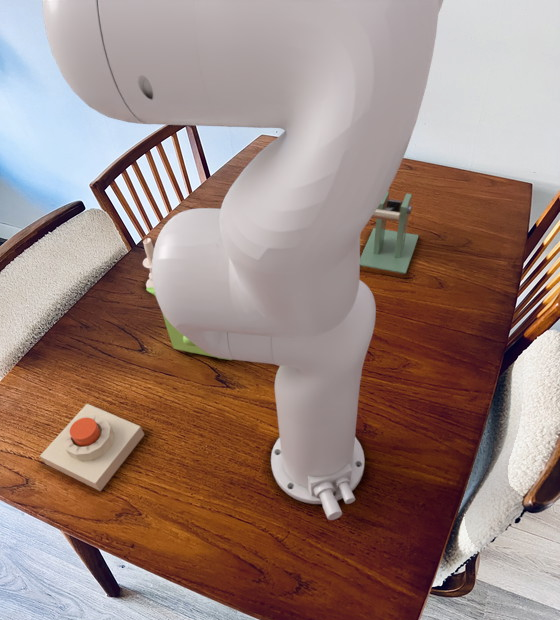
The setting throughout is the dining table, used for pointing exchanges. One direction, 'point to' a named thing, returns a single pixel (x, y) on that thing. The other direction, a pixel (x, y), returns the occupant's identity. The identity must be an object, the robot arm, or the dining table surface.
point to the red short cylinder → (85, 431)
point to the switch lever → (389, 211)
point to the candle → (148, 259)
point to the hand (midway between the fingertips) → (351, 193)
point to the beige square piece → (94, 448)
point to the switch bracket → (390, 242)
